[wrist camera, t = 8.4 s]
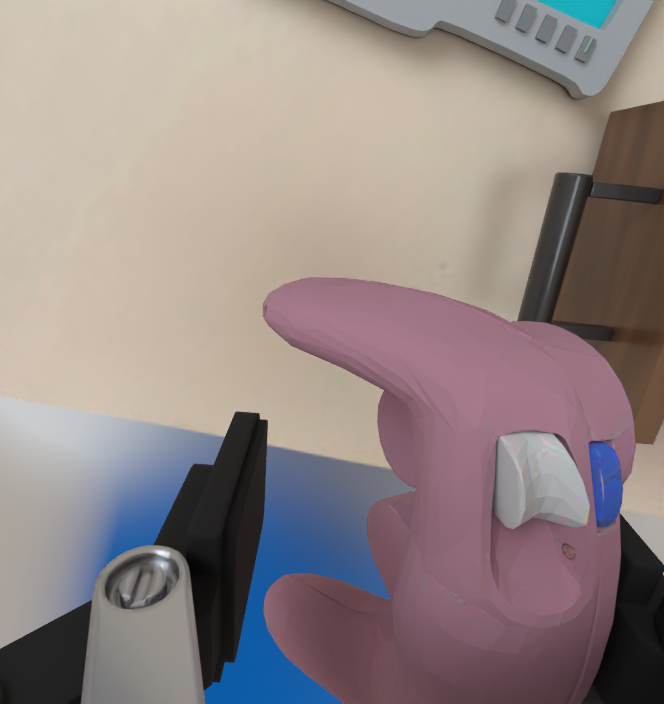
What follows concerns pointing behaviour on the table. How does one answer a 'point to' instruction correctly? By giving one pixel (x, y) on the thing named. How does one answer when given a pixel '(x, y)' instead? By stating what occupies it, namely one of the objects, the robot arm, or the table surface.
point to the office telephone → (526, 31)
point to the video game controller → (465, 503)
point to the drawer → (611, 260)
